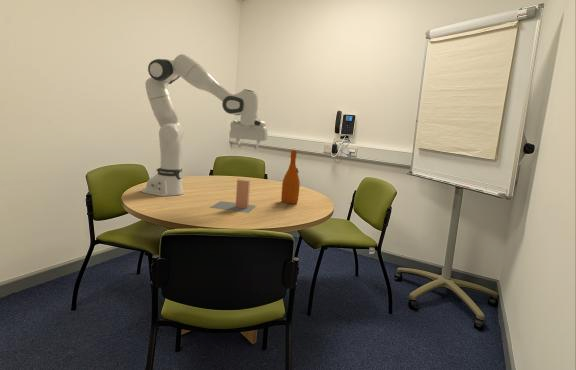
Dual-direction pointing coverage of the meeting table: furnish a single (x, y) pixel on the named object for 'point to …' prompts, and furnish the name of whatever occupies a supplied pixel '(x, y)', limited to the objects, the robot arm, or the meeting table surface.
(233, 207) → the mat
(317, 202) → the meeting table surface
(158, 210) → the meeting table surface
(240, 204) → the tile
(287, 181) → the wine bottle
